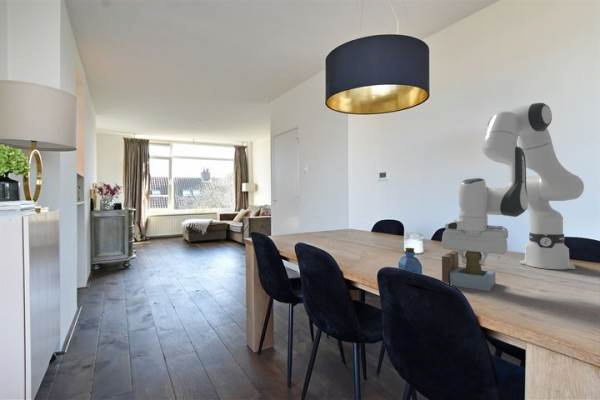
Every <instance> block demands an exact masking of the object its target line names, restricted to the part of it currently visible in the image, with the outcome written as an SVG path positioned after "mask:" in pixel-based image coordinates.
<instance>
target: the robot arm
mask: <svg viewBox="0 0 600 400" xmlns="http://www.w3.org/2000/svg"><path fill="white" fill-rule="evenodd" d="M552 115H553V114H552V110H551V108H550V106H549V105H547V104H546V103H544V102H536V103H532V104H528V105H522V106H518V107H515V108H512V109H510V110H509V109H508V110H506V111H505V110H504V111H499V112H497V113H495V114H494V115H493V116H491V117H490V119H489V120H488V123H487V127H486V130H485V133H484V136H483V140H482V147H481V148H482V152H483V154H484V155H485V156H486V157H487V158H488V159H489V160H491V161H493V162H496V163H499V164H503V165H507V166H509V185H507V186H505V187H488V186H487V183H486V180H485V179H484V178H481V177H479V178H478V177H475V178H467V179H464V180H463V181H461V183H460V185H459V191H458V194H459V195H458V206H459V213H458V219H456V220H453V221H449V222H447V223H445V224H444V228H445V230H444V231H443V232H442V237H441V247H442V248H443V249H444V250H450V251H458V256H460V257H461V260H462V261H461V262H462V264H467V259H466V258H465V252H467V251H472V252H480V253H482V259H481V260H479V265H481V266H485V265H486V259H487V258H488V257H489V254H495V255H496V254H497V255H505V254H506V253H508V250H509V249H508V242H507V239H509V230H508V229H507V228H506V227H504V226H503V225H489V223H488V217H489V216H490V215H491V216H493V215H495V216H505V217H511V218H512V217H514V218H517V217H518V216H521V215H522V214H523V213H525V212H526V211H528V213H529V223H530V224H529V225H530V232H529V234H528V238H529V242H528V243H526V244H525V246H524V259H522V260H520V261H519V264H522V265H526V266H528V267H534V268H538V269H539V268H540V269H548V270H576V266H575V264H572V263H571V262H570V248H569V247H568V246H567V245H565V238H566V237H565V234H564V217H563V215H562V213H560V212H559V211H558V210H555V209H554V208H553V207H552V205H551V204H550V202H564V201H572V200H576V199H579V197H580V198H581V196H582V194H583V192H584V189H585V185H584V181H583V180H582V178H581V177H579V176H578V175H576V174H574V173H572V172H570V171H568V170H567V169H566V168H565V167H564V166H563V165H562V164H561V162H560V161H559V160H558V158H557V155H556V152H555V147H554V145H553V141H552V138H551V135H550V131H549V130H548V127H549V126H550V124H551V123H552V119H553V117H552ZM527 169H529V170H530V171H531V170H532V171H534V172H535V173H536V174H537V175H529V176H527ZM488 215H489V216H488Z"/></svg>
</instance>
